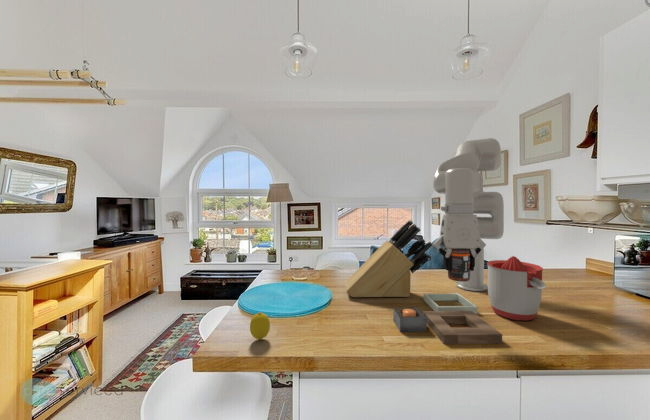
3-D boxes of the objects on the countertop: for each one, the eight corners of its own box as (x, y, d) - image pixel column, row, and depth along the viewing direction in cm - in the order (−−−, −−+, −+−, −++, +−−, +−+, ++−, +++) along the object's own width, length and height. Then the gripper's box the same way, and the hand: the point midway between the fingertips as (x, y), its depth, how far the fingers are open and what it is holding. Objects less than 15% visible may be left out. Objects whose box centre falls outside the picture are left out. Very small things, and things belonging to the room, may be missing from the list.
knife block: (434, 297, 109) (434, 221, 108) (346, 298, 110) (345, 222, 109) (424, 288, 121) (424, 219, 120) (344, 289, 121) (344, 220, 120)
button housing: (393, 320, 89) (393, 308, 89) (417, 319, 89) (417, 307, 89) (399, 331, 81) (399, 318, 81) (426, 331, 81) (426, 318, 81)
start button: (401, 321, 87) (401, 308, 87) (413, 321, 87) (413, 308, 87) (404, 326, 83) (404, 314, 83) (417, 326, 83) (417, 314, 83)
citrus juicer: (522, 330, 82) (523, 264, 81) (476, 308, 98) (476, 253, 98) (560, 323, 86) (561, 260, 85) (509, 303, 103) (510, 250, 102)
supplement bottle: (472, 282, 78) (473, 243, 78) (450, 281, 80) (450, 243, 79) (466, 277, 84) (466, 240, 84) (445, 276, 85) (445, 240, 85)
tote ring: (423, 299, 107) (423, 293, 107) (458, 299, 107) (458, 293, 107) (437, 314, 94) (437, 307, 93) (477, 314, 93) (477, 306, 93)
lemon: (252, 335, 80) (251, 309, 80) (271, 334, 81) (270, 308, 81) (248, 345, 75) (247, 316, 75) (268, 344, 75) (268, 315, 75)
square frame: (422, 318, 90) (422, 311, 90) (471, 318, 90) (471, 310, 90) (443, 343, 74) (443, 334, 74) (502, 343, 74) (502, 334, 74)
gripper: (435, 210, 77) (435, 273, 78) (495, 210, 77) (495, 272, 78) (425, 209, 85) (425, 267, 86) (480, 209, 85) (480, 266, 85)
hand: (458, 269), depth 82 cm, fingers closed on supplement bottle, 6 cm apart
